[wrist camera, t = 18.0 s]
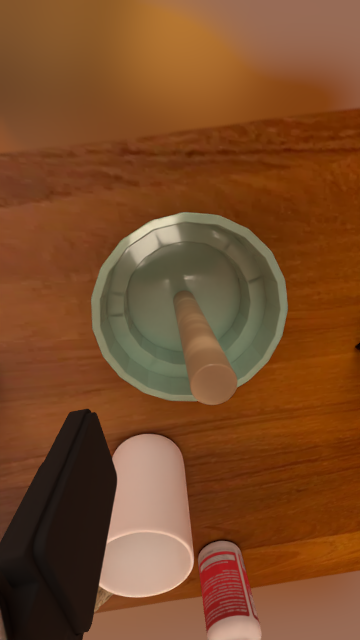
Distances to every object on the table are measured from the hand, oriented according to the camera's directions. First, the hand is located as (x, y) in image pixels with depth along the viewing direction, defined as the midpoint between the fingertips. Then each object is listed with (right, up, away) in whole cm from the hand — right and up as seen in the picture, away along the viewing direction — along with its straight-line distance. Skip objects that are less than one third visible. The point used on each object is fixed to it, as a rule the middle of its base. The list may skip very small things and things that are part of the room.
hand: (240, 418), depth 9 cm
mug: (-5, -14, +23) cm, 27 cm away
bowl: (-2, +5, +16) cm, 17 cm away
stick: (-2, +5, +15) cm, 16 cm away
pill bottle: (+4, -30, +28) cm, 41 cm away
